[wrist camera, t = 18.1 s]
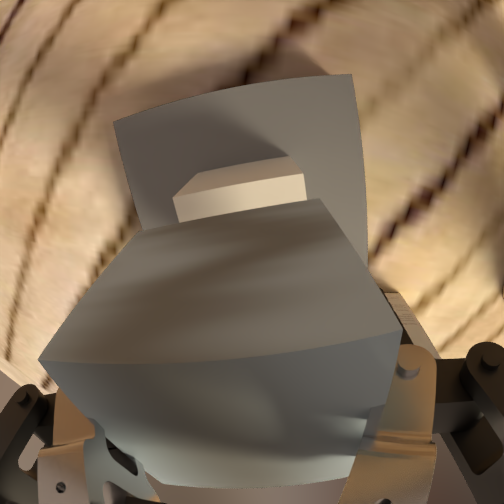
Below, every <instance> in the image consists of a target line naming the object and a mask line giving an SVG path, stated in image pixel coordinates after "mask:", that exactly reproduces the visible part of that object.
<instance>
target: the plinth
mask: <svg viewBox="0 0 504 504" xmlns="http://www.w3.org/2000/svg"><path fill="white" fill-rule="evenodd" d="M113 124H114V128H115V133H116V137H117V141H118V145H119V149H120V153H121V157H122V161H123V165H124V169H125V173H126V176H127V180H128V183H129V187H130V190H131V194H132V197H133V201H134V204H135V207H136V211H137V214H138V217H139V220H140V223H141V226H142V229H143V230H147V229H152V228H157V227H161V226H166V225H171V224H176V223H179V220H178V216H177V213H176V209H175V205H174V202H173V197H174V196H175V195H176V194H177V193H178V192H179V191H180V190H181V189H182V188H183V187H184V186H185V185H186V184H187V183H188V182H189V181H190V180H191V179H192V178H193V177H194V176H195V175H196V174H197V173H199V172H204V171H209V170H213V169H218V168H223V167H228V166H233V165H238V164H244V163H249V162H255V161H260V160H266V159H272V158H279V157H285V156H290V157H291V158H292V160H293V161H294V162H295V163H296V165H297V166H298V167H299V169H300V170H301V171H302V172H303V174H304V181H305V189H306V196H307V200H310V199H317V198H320V200H321V201H322V202H323V204H324V205H325V207H326V208H327V209H328V211H329V212H330V214H331V215H332V217H333V218H334V219H335V221H336V222H337V224H338V225H339V227H340V228H341V230H342V231H343V233H344V234H345V235H346V237H347V238H348V240H349V241H350V243H351V244H352V246H353V247H354V249H355V251H356V252H357V254H358V255H359V257H360V258H361V260H362V261H363V263H364V264H365V266H366V268H367V269H368V232H367V202H366V185H365V171H364V160H363V150H362V140H361V132H360V124H359V116H358V110H357V103H356V97H355V91H354V85H353V79H352V74H342V75H323V76H310V77H300V78H291V79H282V80H275V81H268V82H261V83H255V84H249V85H243V86H238V87H233V88H228V89H223V90H218V91H214V92H210V93H205V94H201V95H197V96H193V97H189V98H185V99H182V100H178V101H175V102H171V103H168V104H164V105H161V106H158V107H155V108H151V109H148V110H145V111H142V112H139V113H136V114H134V115H131V116H128V117H125V118H122V119H120V120H117V121H114V122H113Z"/></svg>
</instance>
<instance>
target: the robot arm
mask: <svg viewBox="0 0 504 504" xmlns="http://www.w3.org/2000/svg"><path fill="white" fill-rule="evenodd" d="M379 289H380V290H381V292H382V294H383V295H384V297H385V299H386V300H387V302H388V299H387V297H386V295H385V294H384V292H383V290H382V289H381V288H379ZM503 298H504V287H503ZM388 304H389V305H390V307H391V309H392V311H393V312H394V314H395V316H396V318H397V319H398V321H399V323H400V325H401V327H402V328H403V332H402V337H401V342H400V347H399V352H398V357H397V361H396V365H395V370H394V374H393V378H392V382H391V386H390V390H389V393H388V397H387V400H386V404H383V405H379V406H375V407H371V408H370V411H369V415H368V418H367V422H366V426H365V429H364V432H363V436H362V438H361V441H360V445H359V448H358V451H357V454H356V457H355V460H354V463H353V465H352V468H351V471H350V474H349V477H348V479H347V482H346V485H345V487H344V490H343V492H342V495H341V497H340V499H339V502H338V504H426V503H427V500H428V495H429V491H430V486H431V482H432V477H433V472H434V466H435V461H436V444H435V443H433V442H432V438H431V437H432V434H436V433H440V435H441V436H442V438H443V440H444V442H445V443H446V445H447V447H448V449H449V451H450V452H451V454H452V456H453V457H454V460H455V461H456V463H457V465H458V467H459V469H460V471H461V472H462V474H463V476H464V478H465V480H466V482H467V484H468V486H469V488H470V490H471V492H472V494H473V495H474V498H475V500H476V502H477V504H504V348H503V347H502V346H500V345H498V344H496V343H493V342H481V343H478V344H476V345H474V346H473V347H472V348H471V349H470V350H469V352H468V354H467V356H466V358H459V359H436V358H434V357H433V355H432V354H431V353H430V352H429V351H428V350H426V349H425V348H423V347H420V346H417V345H414V344H413V342H412V340H411V338H410V337H409V335H408V333H407V331H406V329H405V328H404V326H403V324H402V322H401V321H400V319H399V317H398V315H397V314H396V312H395V311H394V310H393V307H392V305H391V304H390V302H388ZM32 434H35V435H36V436H37V437H38V438H39V439H40V440H41V441H42V442H44V443H45V445H44V447H43V448H41V449H40V450H39V453H38V458H37V459H36V461H35V463H34V465H33V467H32V468H31V469H30V470H29V471H24V470H22V469H21V468H19V465H18V459H19V456H20V455H21V453H22V451H23V450H24V448H25V446H26V444H27V443H28V441H29V439H30V438H31V436H32ZM0 504H166V503H161V502H160V500H159V498H158V496H157V494H156V492H155V491H154V490H153V488H152V487H151V485H150V484H149V482H148V480H147V478H146V475H145V471H144V467H143V464H142V463H141V462H140V461H138V460H137V459H136V458H135V457H129V456H127V455H125V454H124V453H123V452H122V451H121V450H120V449H118V448H117V447H116V446H115V445H114V444H113V443H112V442H111V441H110V440H109V439H107V438H106V437H105V430H104V428H103V427H102V426H101V425H100V424H99V423H98V422H97V421H96V420H95V419H93V418H87V417H85V416H84V415H83V414H82V413H81V412H80V410H79V409H78V408H77V407H76V406H75V405H74V404H73V403H72V402H71V401H70V399H69V398H68V397H67V396H66V395H65V394H64V392H63V391H62V390H61V389H60V388H58V390H57V393H53V394H48V395H43V394H42V393H41V392H40V390H39V389H38V388H37V387H36V386H35V385H33V384H27V385H24V386H22V387H21V388H19V389H18V390H17V391H16V392H15V393H14V395H13V396H12V398H11V399H10V400H9V402H8V403H7V405H6V406H5V407H4V409H3V411H2V412H1V413H0Z"/></svg>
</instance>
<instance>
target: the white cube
mask: <svg viewBox="0 0 504 504" xmlns="http://www.w3.org/2000/svg"><path fill="white" fill-rule="evenodd" d="M304 200H307V196H306V189H305V181H304V174H303V172H302V171H301V170H300V169H299V167H298V166H297V165H296V163H295V162H294V161H293V160H292V158H291V157H290V156H285V157H279V158H272V159H266V160H260V161H255V162H249V163H244V164H238V165H233V166H228V167H223V168H218V169H213V170H209V171H204V172H199V173H197V174H196V175H195V176H194V177H193V178H192V179H191V180H190V181H189V182H188V183H187V184H186V185H185V186H184V187H183V188H182V189H181V190H180V191H179V192H178V193H177V194H176V195H175V196H174V197H173V202H174V205H175V209H176V213H177V216H178V220H179V223H181V222H186V221H191V220H196V219H201V218H206V217H211V216H216V215H222V214H227V213H233V212H238V211H244V210H249V209H255V208H261V207H267V206H273V205H279V204H285V203H291V202H297V201H304Z"/></svg>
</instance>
